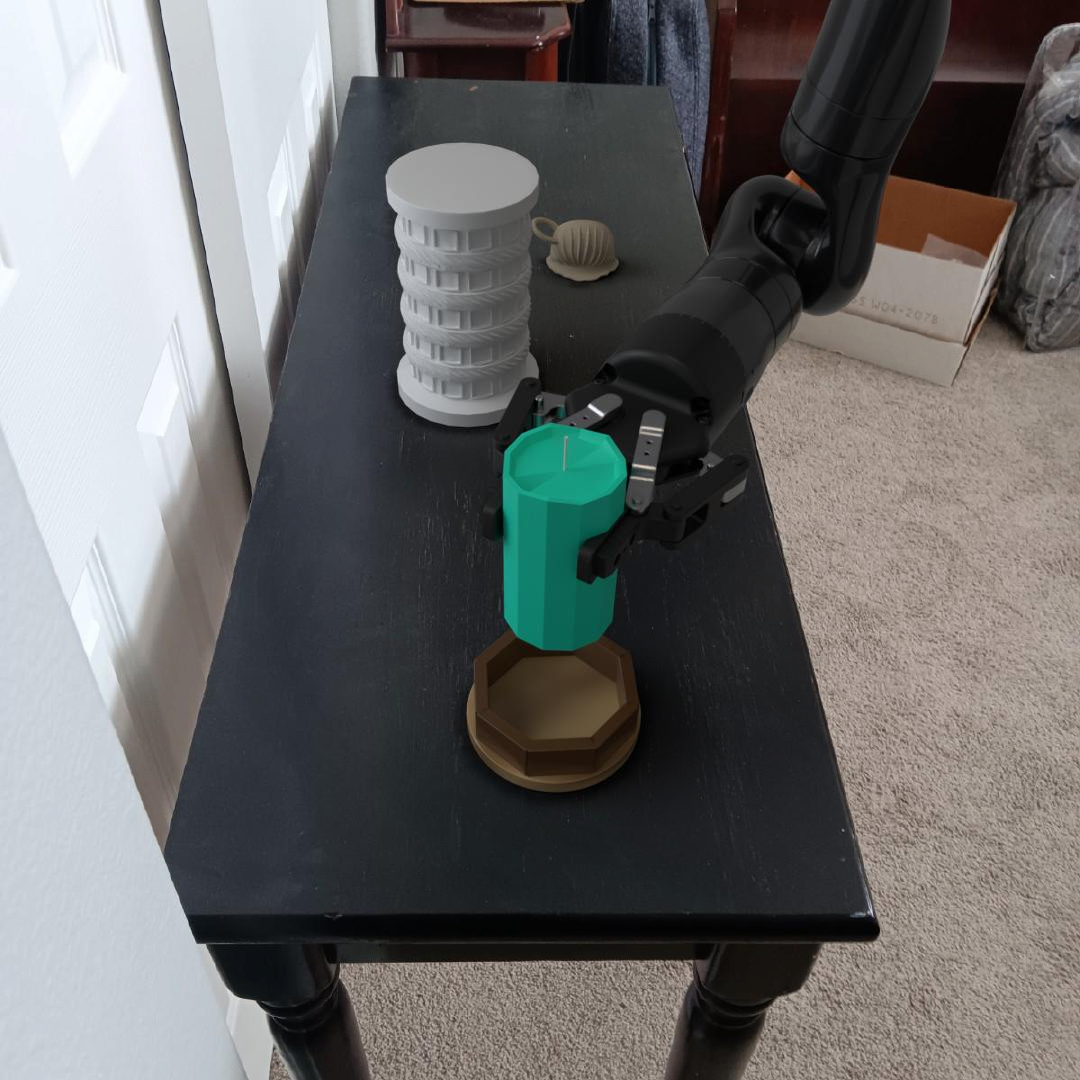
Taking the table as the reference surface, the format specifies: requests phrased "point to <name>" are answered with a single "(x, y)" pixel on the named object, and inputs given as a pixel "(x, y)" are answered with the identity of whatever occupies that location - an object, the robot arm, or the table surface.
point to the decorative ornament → (579, 249)
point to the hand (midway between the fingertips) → (536, 547)
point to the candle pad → (553, 712)
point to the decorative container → (463, 279)
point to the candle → (558, 533)
